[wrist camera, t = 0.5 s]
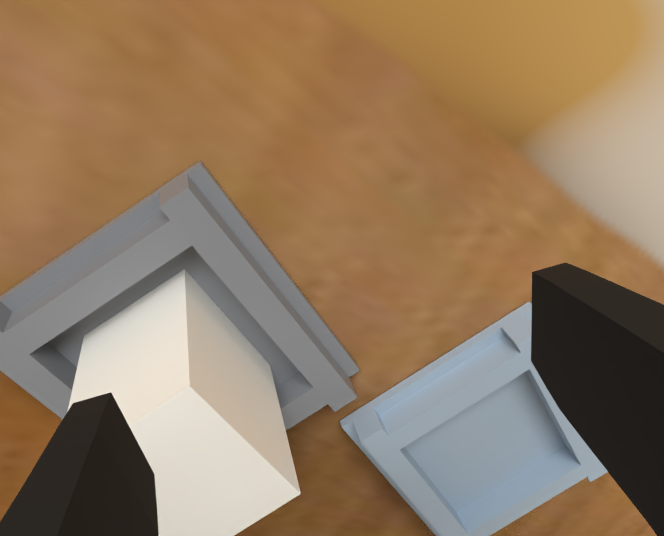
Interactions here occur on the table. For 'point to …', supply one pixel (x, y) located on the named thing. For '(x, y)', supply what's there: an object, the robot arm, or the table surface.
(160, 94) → the table surface
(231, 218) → the front socket
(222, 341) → the white rectangular block
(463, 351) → the rear socket
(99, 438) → the robot arm
